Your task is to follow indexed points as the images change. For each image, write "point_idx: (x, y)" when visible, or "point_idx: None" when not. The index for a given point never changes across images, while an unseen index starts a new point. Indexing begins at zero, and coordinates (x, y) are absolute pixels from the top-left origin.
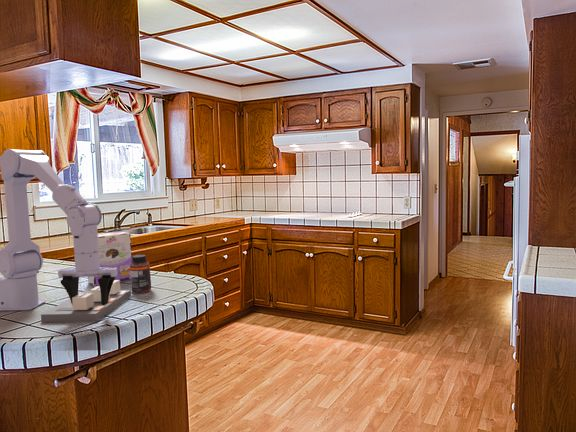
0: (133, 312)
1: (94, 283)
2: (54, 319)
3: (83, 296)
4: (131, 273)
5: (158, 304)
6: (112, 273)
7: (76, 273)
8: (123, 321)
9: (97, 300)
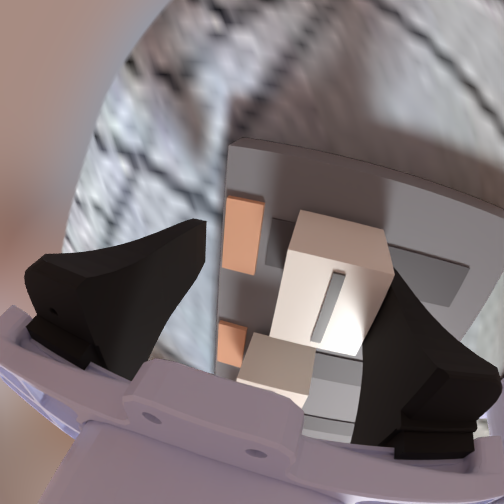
0: (133, 238)
1: None
2: (462, 195)
3: (314, 283)
4: None
5: None
6: (1, 325)
7: (328, 458)
8: (123, 123)
9: (282, 343)
